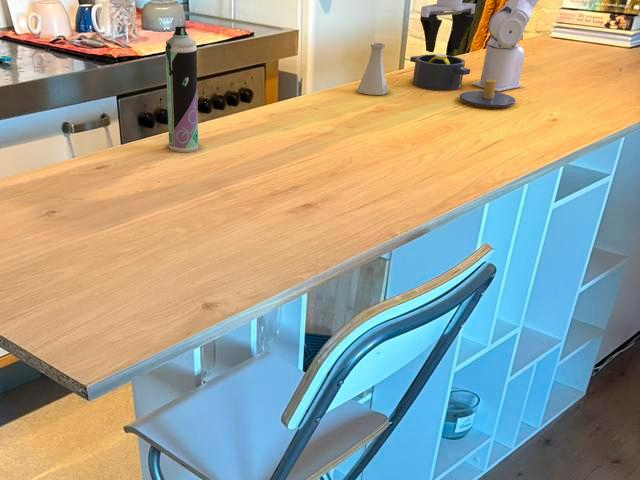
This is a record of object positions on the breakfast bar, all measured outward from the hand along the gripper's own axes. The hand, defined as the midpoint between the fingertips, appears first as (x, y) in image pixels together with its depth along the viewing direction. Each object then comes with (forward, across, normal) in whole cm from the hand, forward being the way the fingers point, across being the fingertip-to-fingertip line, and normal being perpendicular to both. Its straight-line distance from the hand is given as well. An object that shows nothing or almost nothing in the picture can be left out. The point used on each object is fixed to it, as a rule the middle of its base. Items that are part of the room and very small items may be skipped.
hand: (442, 50), depth 193 cm
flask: (+8, -19, 0) cm, 21 cm away
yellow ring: (+7, 0, 0) cm, 7 cm away
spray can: (+7, -79, -22) cm, 82 cm away
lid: (+7, 0, -18) cm, 19 cm away
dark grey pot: (+8, 0, 0) cm, 8 cm away
